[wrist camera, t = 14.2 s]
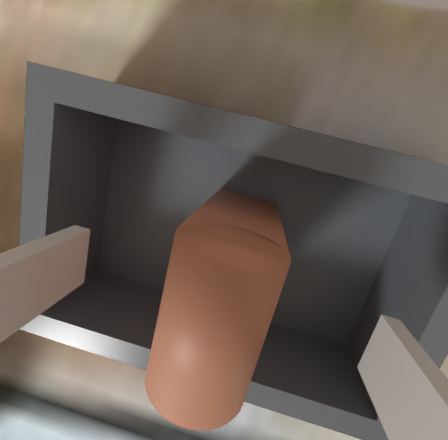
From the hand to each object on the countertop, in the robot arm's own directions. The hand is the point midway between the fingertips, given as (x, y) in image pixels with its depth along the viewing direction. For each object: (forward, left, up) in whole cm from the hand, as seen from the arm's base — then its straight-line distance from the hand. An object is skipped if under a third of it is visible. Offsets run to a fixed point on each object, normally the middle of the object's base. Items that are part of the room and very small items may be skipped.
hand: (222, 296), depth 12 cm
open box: (0, 0, -9) cm, 9 cm away
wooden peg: (0, 0, -8) cm, 8 cm away
